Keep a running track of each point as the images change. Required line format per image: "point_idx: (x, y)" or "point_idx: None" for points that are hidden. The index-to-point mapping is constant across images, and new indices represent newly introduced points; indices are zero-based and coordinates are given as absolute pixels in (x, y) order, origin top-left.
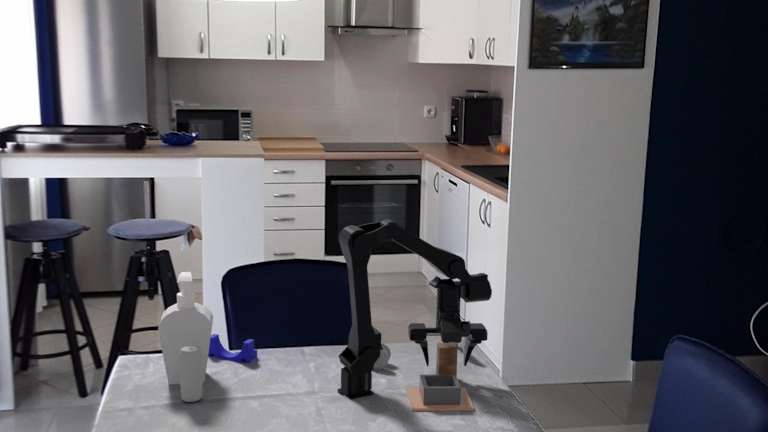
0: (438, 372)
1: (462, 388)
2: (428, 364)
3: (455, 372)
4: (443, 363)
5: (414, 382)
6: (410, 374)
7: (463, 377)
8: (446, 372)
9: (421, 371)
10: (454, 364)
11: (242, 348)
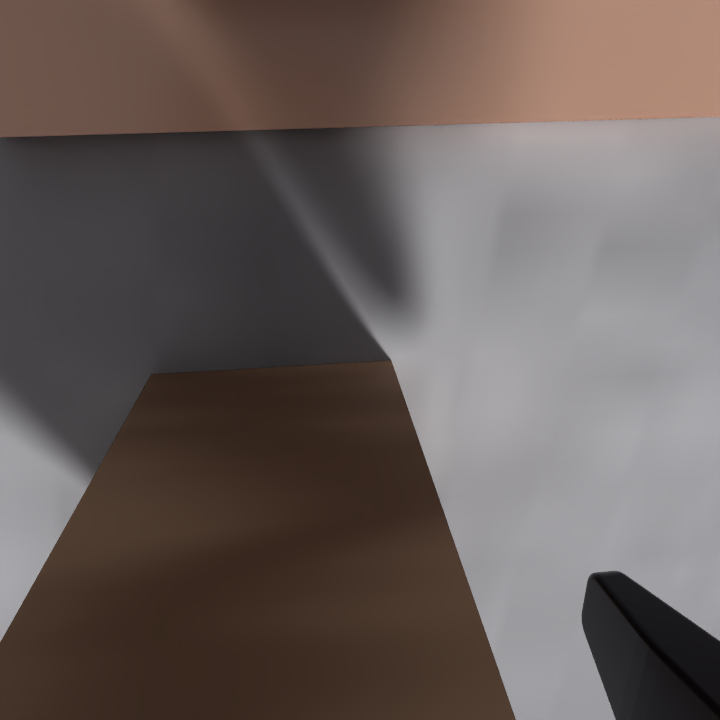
0: (417, 457)
1: (28, 97)
2: (612, 592)
3: (123, 465)
4: (355, 570)
5: (669, 391)
6: None
7: None
8: (284, 452)
9: (515, 660)
10: (98, 572)
11: None
